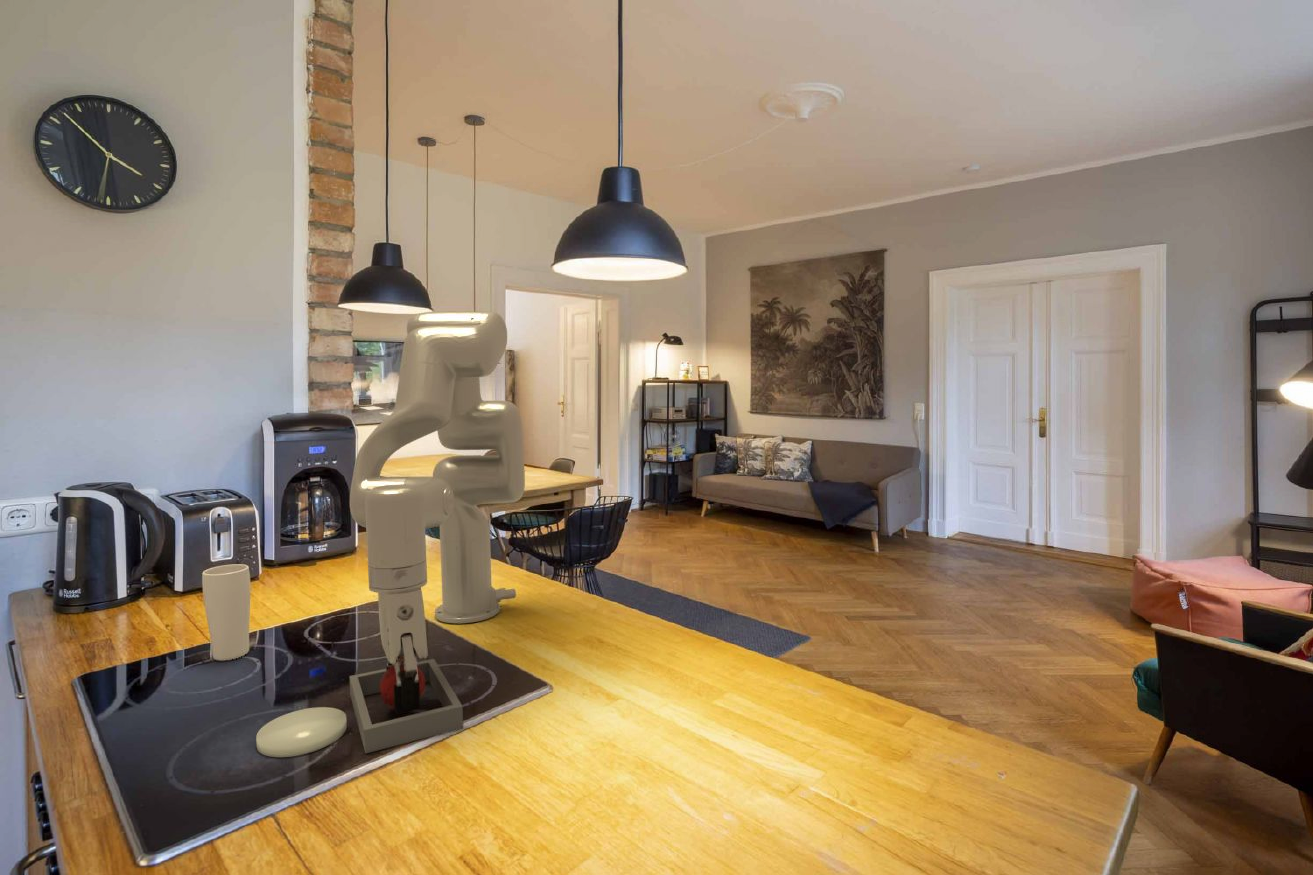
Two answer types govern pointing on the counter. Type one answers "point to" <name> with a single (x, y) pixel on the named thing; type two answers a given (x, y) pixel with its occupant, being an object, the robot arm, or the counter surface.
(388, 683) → the onion
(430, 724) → the crate
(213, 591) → the drinking glass
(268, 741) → the cream oval pebble
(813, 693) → the counter surface
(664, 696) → the counter surface
